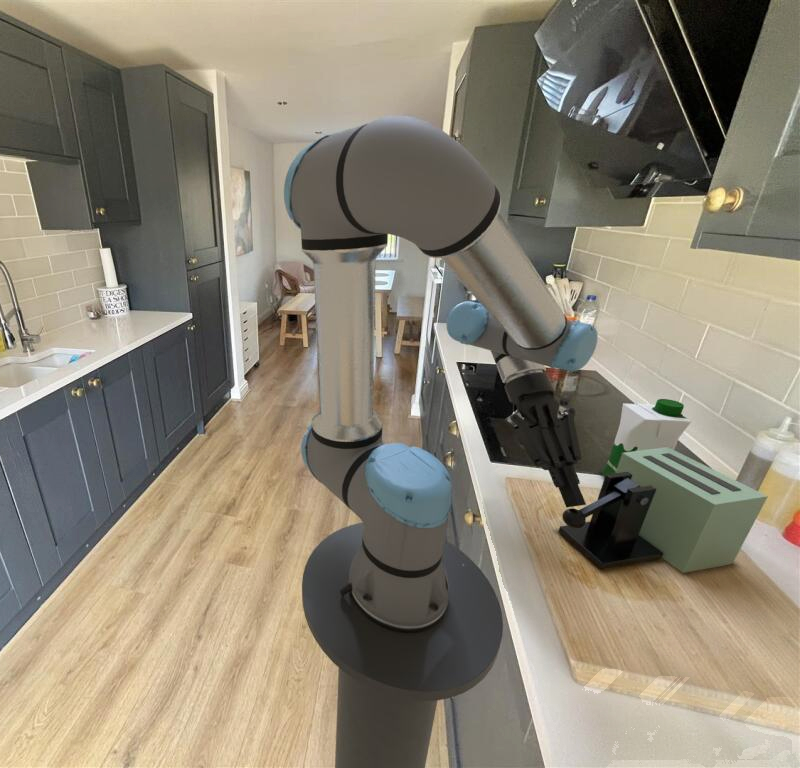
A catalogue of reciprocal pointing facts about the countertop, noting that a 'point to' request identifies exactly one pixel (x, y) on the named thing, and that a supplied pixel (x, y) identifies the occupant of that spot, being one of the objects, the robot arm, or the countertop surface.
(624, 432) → the milk carton
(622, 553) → the lever bracket
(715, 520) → the toaster
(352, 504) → the robot arm
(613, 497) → the black lever handle
